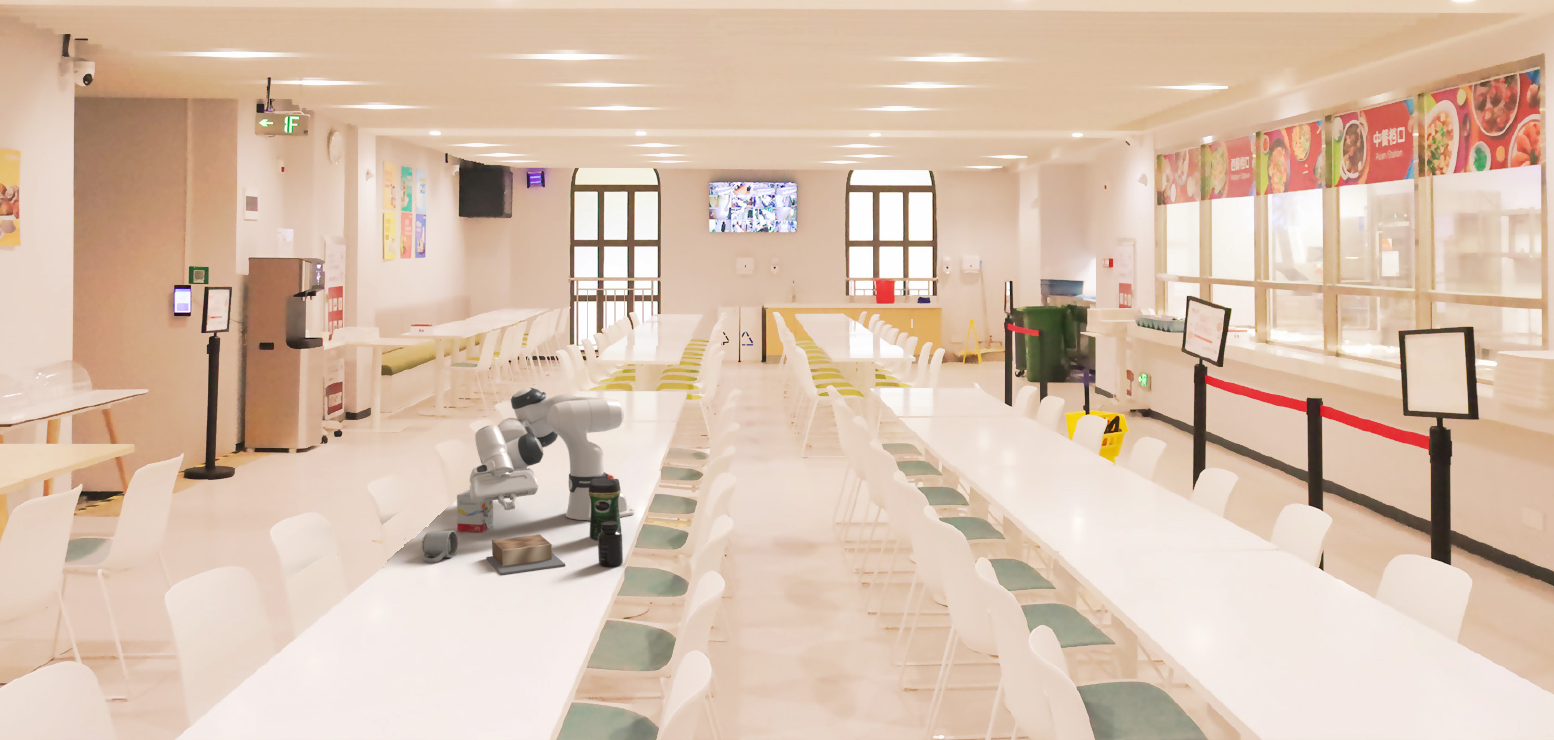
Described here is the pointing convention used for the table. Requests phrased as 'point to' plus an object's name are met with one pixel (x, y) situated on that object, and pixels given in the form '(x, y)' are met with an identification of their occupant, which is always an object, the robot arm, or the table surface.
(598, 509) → the coffee jar
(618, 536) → the supplement bottle
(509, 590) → the table surface
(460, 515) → the ink box
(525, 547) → the walnut slab
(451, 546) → the ceramic mug
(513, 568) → the mat
